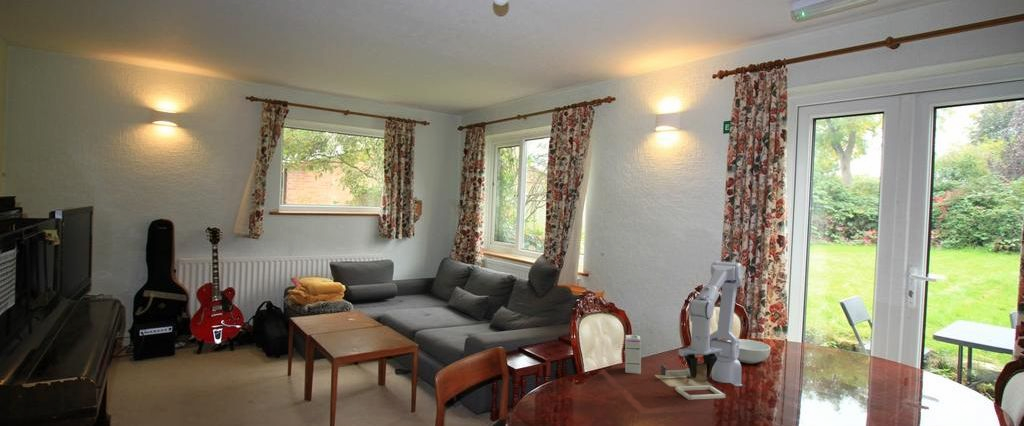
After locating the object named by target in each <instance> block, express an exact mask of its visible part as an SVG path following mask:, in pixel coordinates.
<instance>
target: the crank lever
mask: <svg viewBox="0 0 1024 426" xmlns="http://www.w3.org/2000/svg"><path fill="white" fill-rule="evenodd" d="M660 375H661V376H662V377H677V376H687V377H691V375H690V370H689V367H686V368H685V369H670V370H669V369H668V370H667V365H664V364H661V365H660ZM691 378H693V377H691Z"/></svg>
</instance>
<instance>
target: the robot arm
mask: <svg viewBox="0 0 1024 426" xmlns="http://www.w3.org/2000/svg"><path fill="white" fill-rule="evenodd" d="M743 267H744V266H743V265H742V264H741V263H740V262H730V261H729V262H727V261H726V262H725V261H716V260H714V261H713V262H712V263H711V267H710V275H711V277H710V280H709V282H708V284H707V285H704V286H702V288H701V290H700V291H699V293H698V295H697V297H696V298H695V299H693V300H691V301H690V302H689V305H688V312H689V313H688V314H689V317H690V318H689V319H690V322H691V347H686V348H679V349H678V355H679V356H680V357H684V359H685V361H686V364H687V366H688V367H687V368H689V370H690V375H691V377H693V378H696V366H697V362H699V359H698V358H697V357H696V356H702V358H703V362H704V363H706V364H707V378H710V377H711V379H712V380H713V381H715V382H718V383H724V384H725V383H726V384H729V383H730V384H732V385H733V386H736V387H743V384H742V364H741V361H739V360H738V359H737V358H738V356H739V340H738V336H736V335H735V334H734V333H733V325H734V314H735V308H736V307H735V306H736V295H737V290H738V288H740V287H742V283H743V279H744V268H743ZM720 288H721V295H720V292H719V290H720ZM719 296H720V302H719V303H720V304H719V314H718V322H717V330H715V331H714V332H712V333H711V318H712V317H713V315H714V311H715V310H714V309H715V303H717V301H718V298H719ZM728 340H730V341H731V342H728Z"/></svg>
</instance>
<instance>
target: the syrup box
mask: <svg viewBox="0 0 1024 426" xmlns="http://www.w3.org/2000/svg"><path fill="white" fill-rule="evenodd" d="M641 342H642V339H641V336H640V335H638V334H637V335H636V334H625V337H624V345H625V347H624V359H625V360H624V367H625V369H624V371H625V373H627V374H628V373H629V374H638V375H639V374H640V375H641V372H642V367H641V366H642V365H641V364H642V361H641V360H642V353H641V352H642V347H641V346H642V345H641V344H642V343H641Z"/></svg>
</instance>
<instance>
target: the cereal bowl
mask: <svg viewBox="0 0 1024 426" xmlns="http://www.w3.org/2000/svg"><path fill="white" fill-rule="evenodd" d="M738 340H739V356H738V358H737V360H738V361H739V362H740V363H745V364H757V363H760V362H764V361H765V360H767V359H768V358H769V357H770V355H771V346H770V345H769V344H767V343H764V342H762V341H758V340H752V339H744V338H743V339H741V338H739V339H738ZM727 341H728V342H731V341H730V340H727Z"/></svg>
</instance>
